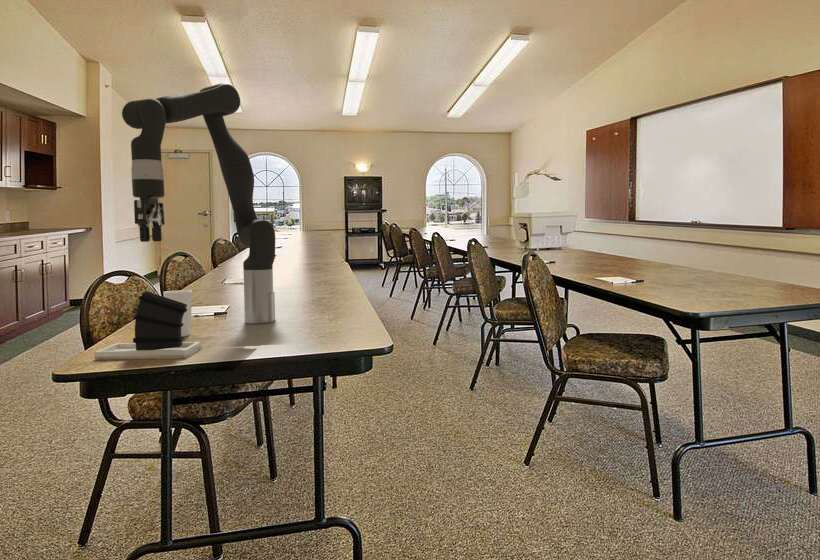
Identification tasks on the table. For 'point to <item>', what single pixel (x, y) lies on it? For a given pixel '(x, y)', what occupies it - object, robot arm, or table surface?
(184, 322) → the cup
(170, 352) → the cradle
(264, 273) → the robot arm
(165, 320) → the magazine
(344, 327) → the table surface
